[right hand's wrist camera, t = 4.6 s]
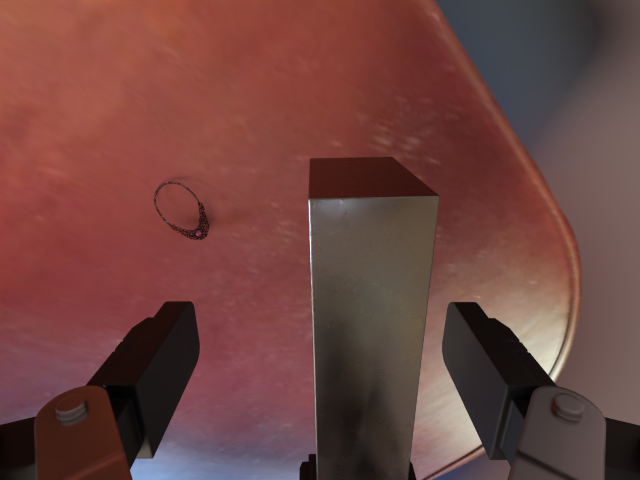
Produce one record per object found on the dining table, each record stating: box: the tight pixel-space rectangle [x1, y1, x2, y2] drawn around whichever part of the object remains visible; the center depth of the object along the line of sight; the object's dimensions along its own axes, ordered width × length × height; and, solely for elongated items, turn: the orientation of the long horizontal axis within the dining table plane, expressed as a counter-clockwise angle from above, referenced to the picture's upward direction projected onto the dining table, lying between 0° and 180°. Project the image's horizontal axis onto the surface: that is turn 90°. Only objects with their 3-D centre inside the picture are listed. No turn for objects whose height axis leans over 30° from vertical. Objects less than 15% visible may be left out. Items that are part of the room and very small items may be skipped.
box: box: [309, 157, 440, 480], centre depth 27 cm, size 27×6×11 cm, turn 1°
